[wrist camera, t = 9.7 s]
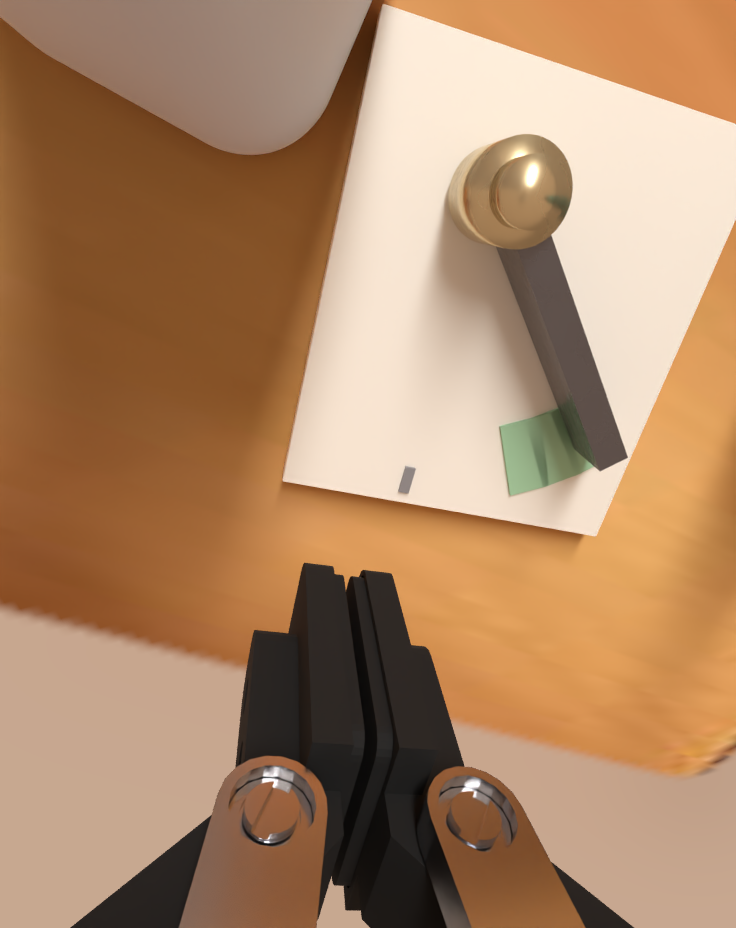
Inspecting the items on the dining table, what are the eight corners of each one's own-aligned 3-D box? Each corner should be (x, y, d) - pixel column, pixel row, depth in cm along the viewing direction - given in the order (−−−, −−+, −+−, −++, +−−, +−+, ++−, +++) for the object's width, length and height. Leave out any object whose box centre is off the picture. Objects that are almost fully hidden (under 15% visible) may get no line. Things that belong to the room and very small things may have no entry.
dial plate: (378, 14, 27) (383, 2, 25) (750, 139, 31) (775, 136, 29) (283, 470, 35) (282, 482, 33) (585, 524, 39) (597, 537, 37)
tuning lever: (433, 173, 28) (463, 165, 23) (518, 125, 27) (568, 106, 22) (550, 458, 34) (593, 501, 29) (620, 423, 34) (676, 461, 29)
